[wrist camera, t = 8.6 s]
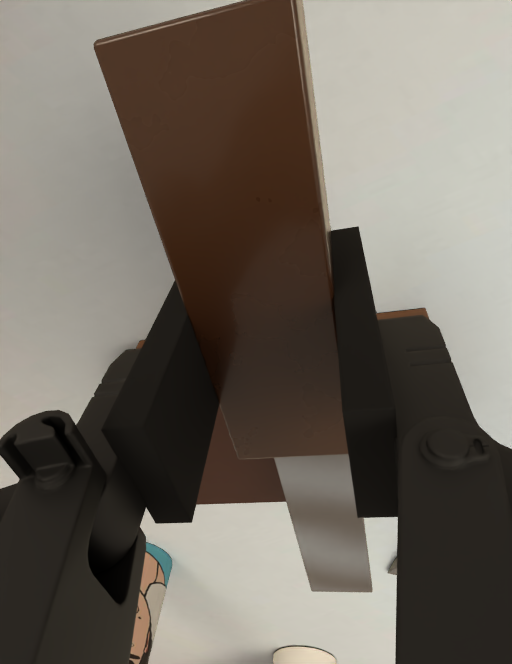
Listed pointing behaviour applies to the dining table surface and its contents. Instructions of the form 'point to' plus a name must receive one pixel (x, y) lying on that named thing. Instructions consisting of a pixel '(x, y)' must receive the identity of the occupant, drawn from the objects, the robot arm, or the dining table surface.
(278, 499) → the cake
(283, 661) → the cup
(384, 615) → the dining table surface
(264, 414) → the knife
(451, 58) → the dining table surface
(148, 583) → the cup
